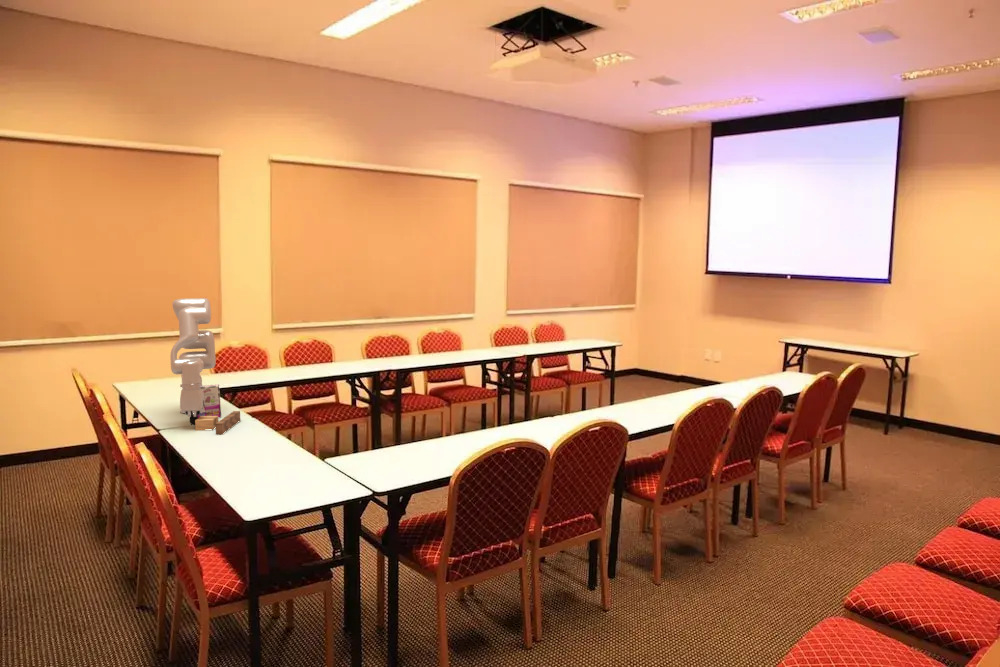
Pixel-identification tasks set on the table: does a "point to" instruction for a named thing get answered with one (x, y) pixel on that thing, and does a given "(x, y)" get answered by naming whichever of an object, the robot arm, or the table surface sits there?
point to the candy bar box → (211, 401)
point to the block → (206, 422)
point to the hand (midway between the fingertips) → (193, 424)
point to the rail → (227, 422)
